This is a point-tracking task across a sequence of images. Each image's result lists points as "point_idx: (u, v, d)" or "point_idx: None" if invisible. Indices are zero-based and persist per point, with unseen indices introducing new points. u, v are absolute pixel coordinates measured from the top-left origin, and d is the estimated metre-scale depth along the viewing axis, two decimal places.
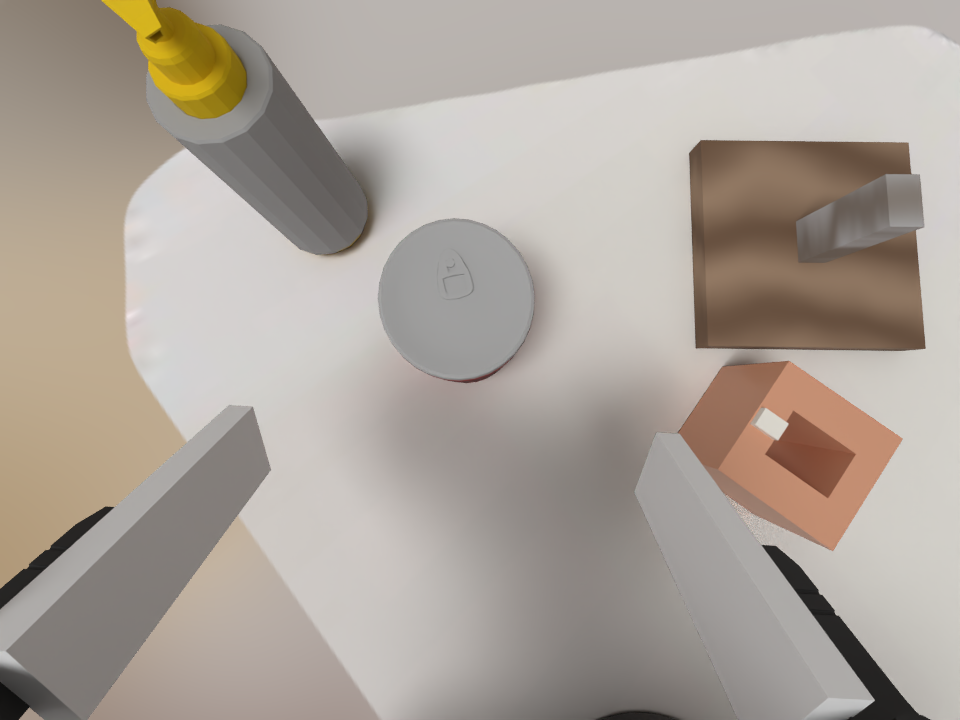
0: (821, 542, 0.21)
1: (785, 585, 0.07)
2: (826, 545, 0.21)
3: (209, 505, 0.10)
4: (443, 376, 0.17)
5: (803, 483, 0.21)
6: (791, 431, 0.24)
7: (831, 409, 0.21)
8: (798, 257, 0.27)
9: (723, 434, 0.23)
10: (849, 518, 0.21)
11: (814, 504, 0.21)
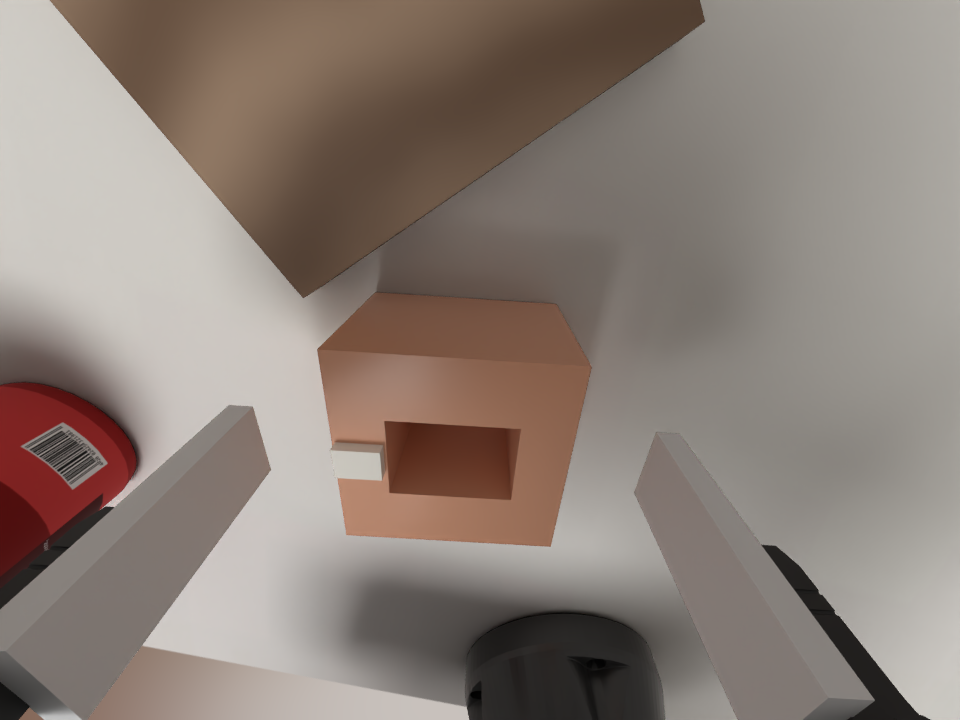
0: (530, 544, 0.14)
1: (785, 585, 0.07)
2: (538, 545, 0.14)
3: (209, 505, 0.10)
4: None
5: (464, 499, 0.13)
6: None
7: (441, 387, 0.11)
8: None
9: None
10: (554, 507, 0.13)
11: (496, 514, 0.13)
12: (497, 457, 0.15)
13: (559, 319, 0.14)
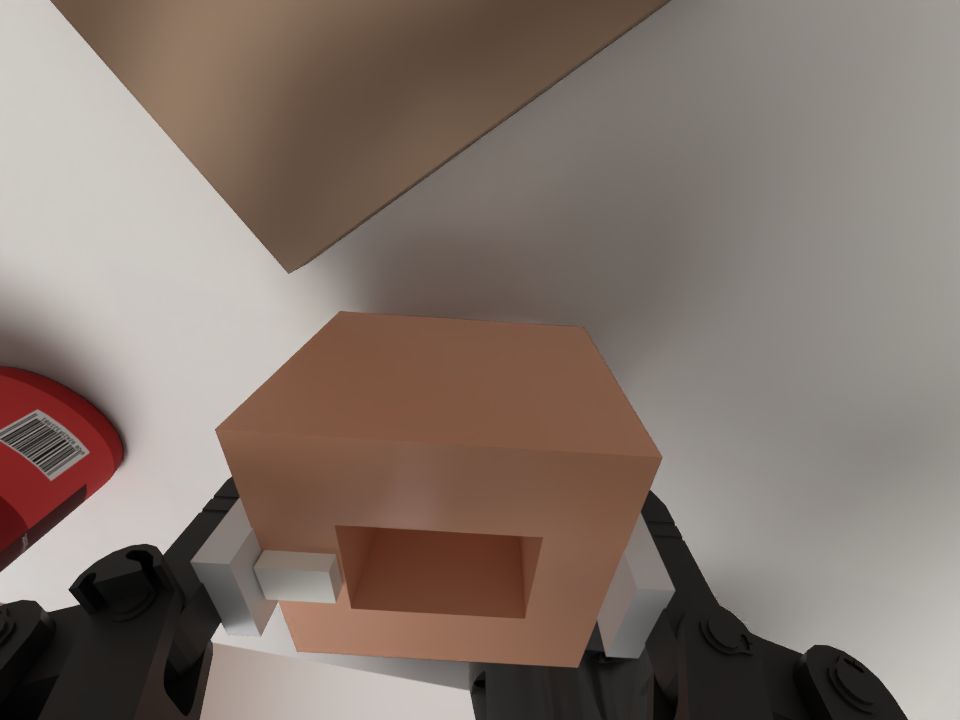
0: (551, 665, 0.10)
1: None
2: (561, 666, 0.10)
3: None
4: None
5: (459, 617, 0.09)
6: None
7: (419, 483, 0.07)
8: None
9: None
10: (587, 627, 0.09)
11: (503, 633, 0.09)
12: (504, 538, 0.11)
13: (593, 354, 0.10)
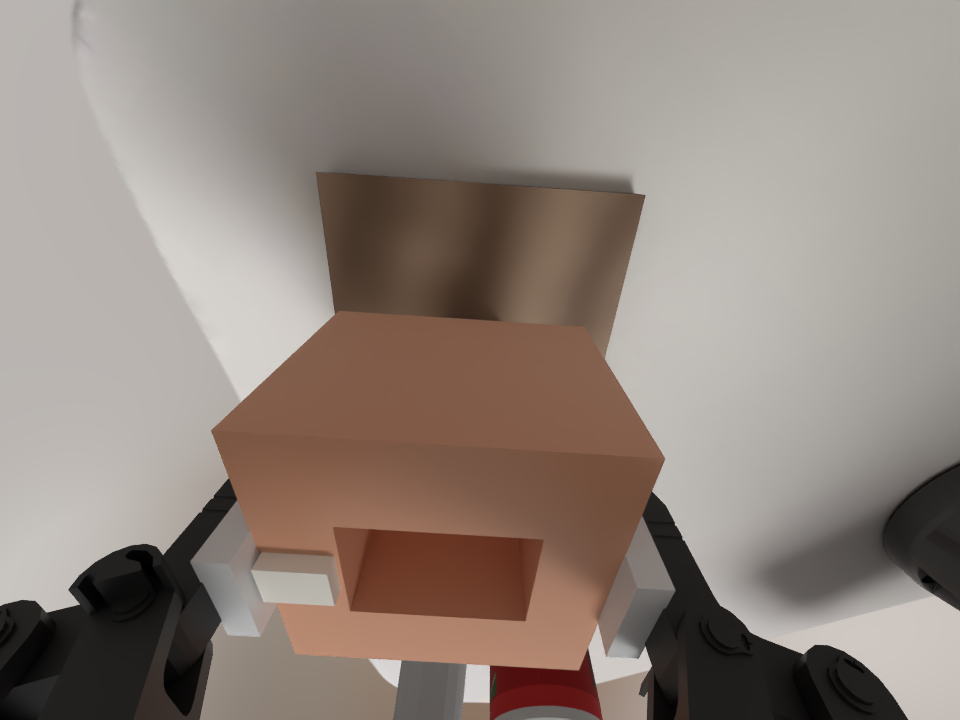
0: (551, 668, 0.10)
1: None
2: None
3: None
4: None
5: (459, 619, 0.09)
6: None
7: (419, 485, 0.07)
8: None
9: None
10: (588, 630, 0.09)
11: (503, 636, 0.09)
12: (504, 540, 0.11)
13: (594, 354, 0.10)
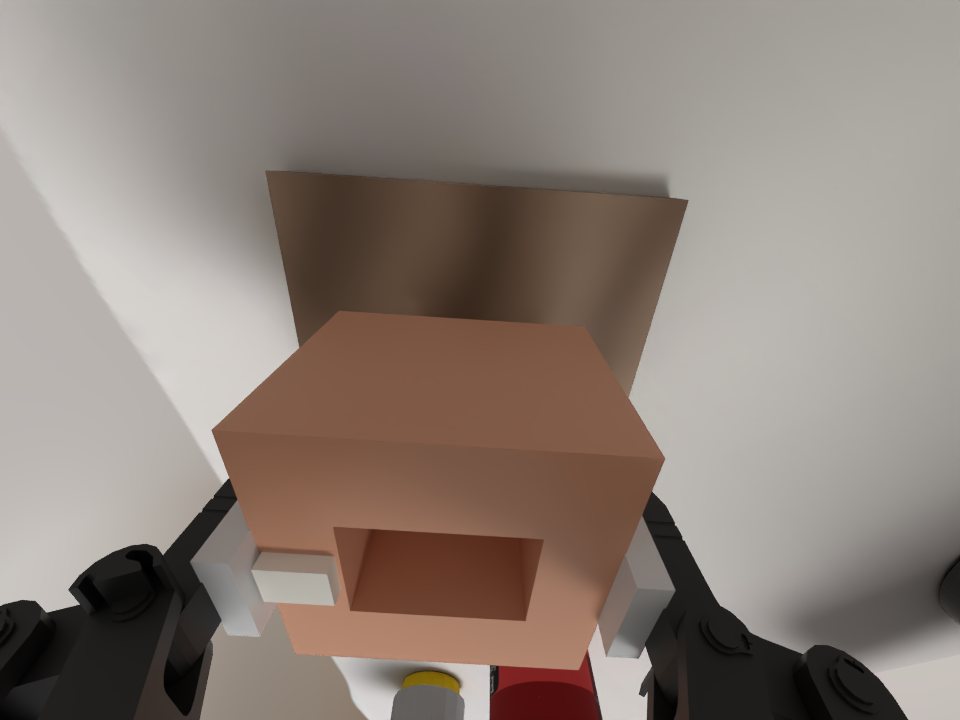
0: (551, 667, 0.10)
1: None
2: None
3: None
4: None
5: (459, 619, 0.09)
6: None
7: (418, 484, 0.07)
8: None
9: None
10: (588, 630, 0.09)
11: (503, 635, 0.09)
12: (504, 539, 0.11)
13: (593, 354, 0.10)
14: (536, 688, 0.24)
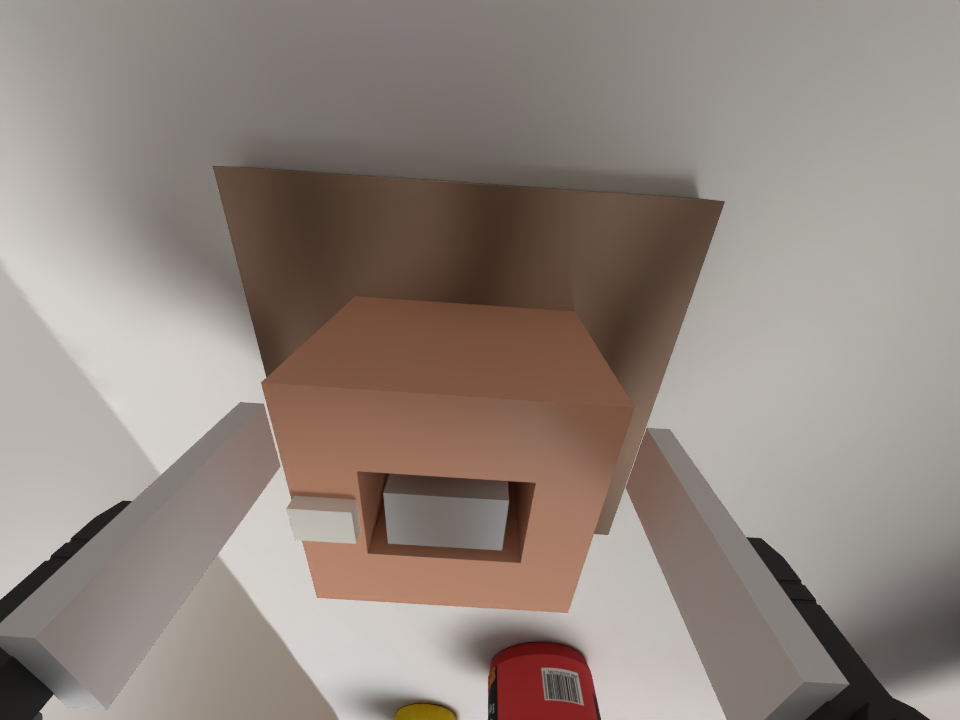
0: (543, 610, 0.11)
1: (767, 575, 0.07)
2: (552, 611, 0.11)
3: (222, 500, 0.10)
4: None
5: (462, 561, 0.10)
6: None
7: (431, 432, 0.08)
8: None
9: None
10: (575, 571, 0.10)
11: (501, 578, 0.11)
12: None
13: (581, 333, 0.11)
14: None
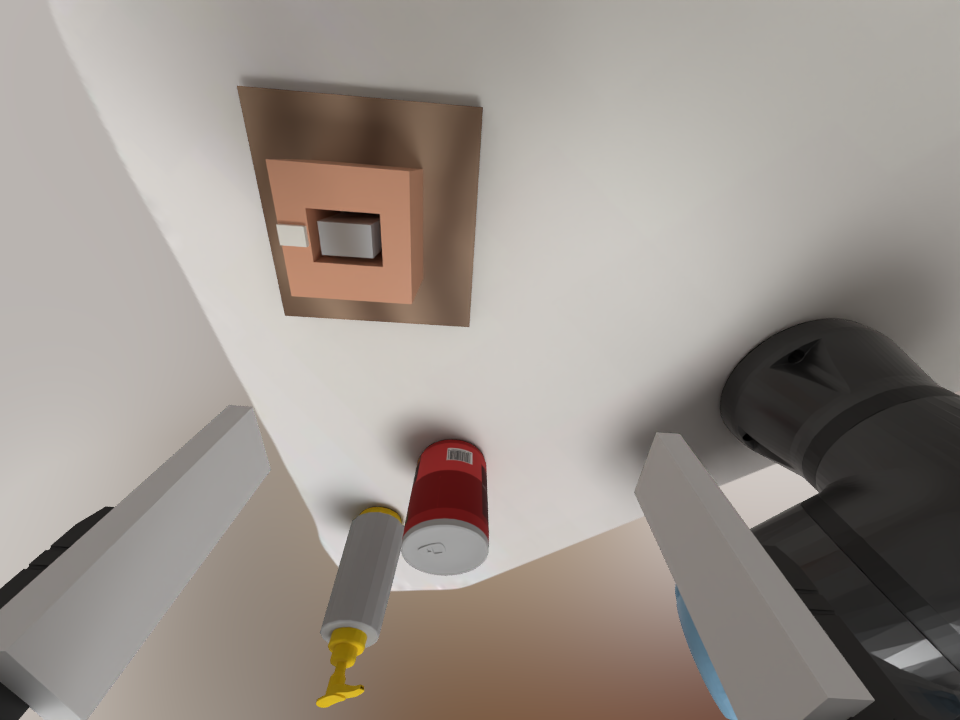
0: (400, 302, 0.24)
1: (785, 585, 0.07)
2: (404, 303, 0.24)
3: (209, 505, 0.10)
4: (486, 556, 0.32)
5: (357, 266, 0.23)
6: None
7: (333, 185, 0.21)
8: None
9: None
10: (408, 272, 0.23)
11: (376, 278, 0.23)
12: None
13: (415, 169, 0.24)
14: (439, 473, 0.35)
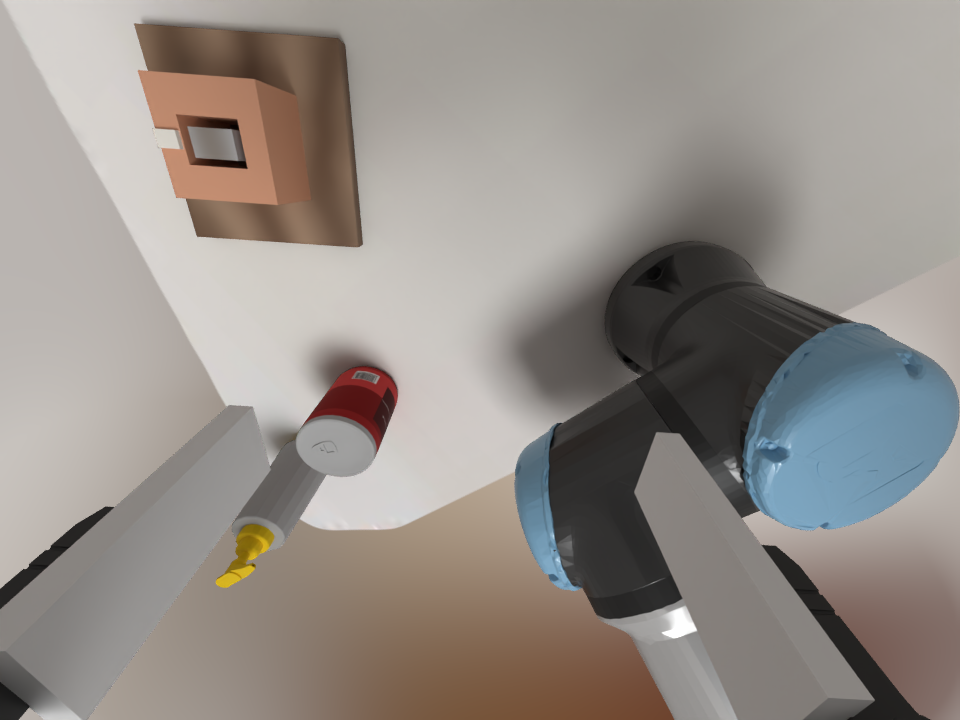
0: (267, 203, 0.28)
1: (785, 585, 0.07)
2: (271, 203, 0.28)
3: (209, 505, 0.10)
4: (373, 456, 0.36)
5: (226, 168, 0.27)
6: (237, 121, 0.28)
7: (195, 92, 0.25)
8: None
9: None
10: (269, 174, 0.27)
11: (243, 179, 0.27)
12: None
13: (280, 90, 0.28)
14: (341, 387, 0.39)
